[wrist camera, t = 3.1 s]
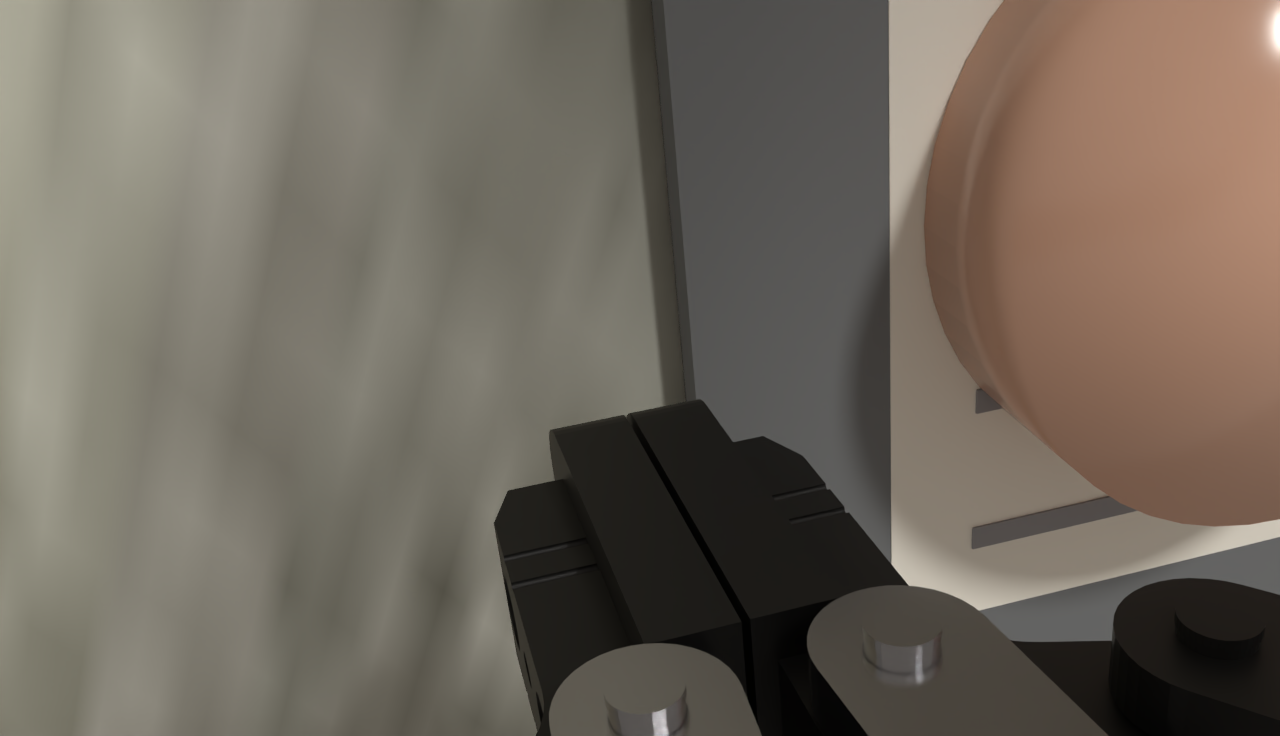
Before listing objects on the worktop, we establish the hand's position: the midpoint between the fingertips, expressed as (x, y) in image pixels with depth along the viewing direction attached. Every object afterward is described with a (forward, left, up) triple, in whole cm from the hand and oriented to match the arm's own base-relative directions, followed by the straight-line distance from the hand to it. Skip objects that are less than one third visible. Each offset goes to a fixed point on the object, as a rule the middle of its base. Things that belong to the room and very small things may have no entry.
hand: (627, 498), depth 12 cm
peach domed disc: (0, +10, -5) cm, 11 cm away
